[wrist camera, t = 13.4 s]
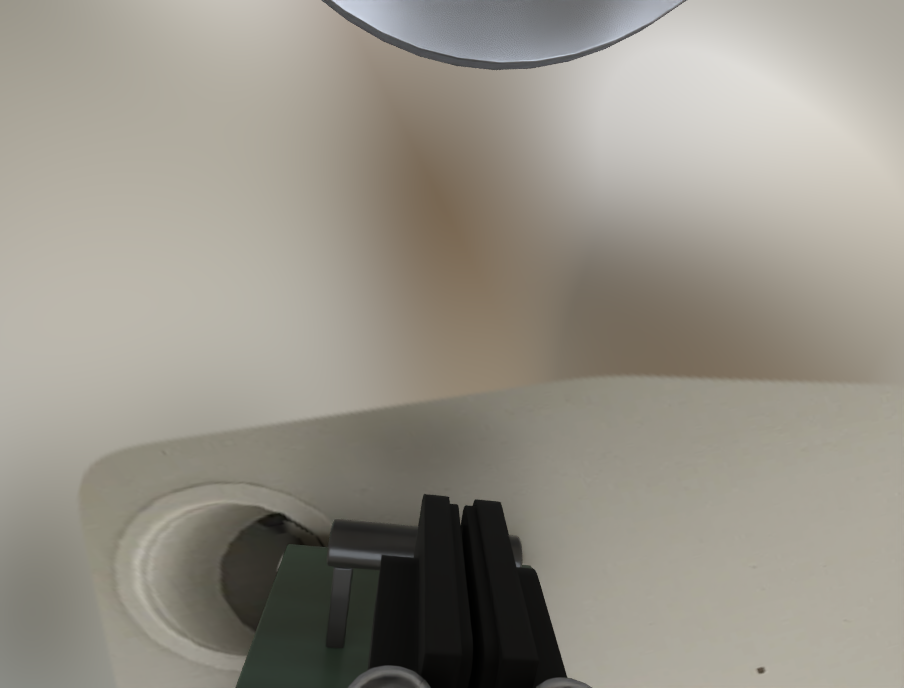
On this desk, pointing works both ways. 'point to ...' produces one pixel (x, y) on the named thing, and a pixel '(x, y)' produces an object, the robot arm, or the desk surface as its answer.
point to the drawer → (326, 608)
